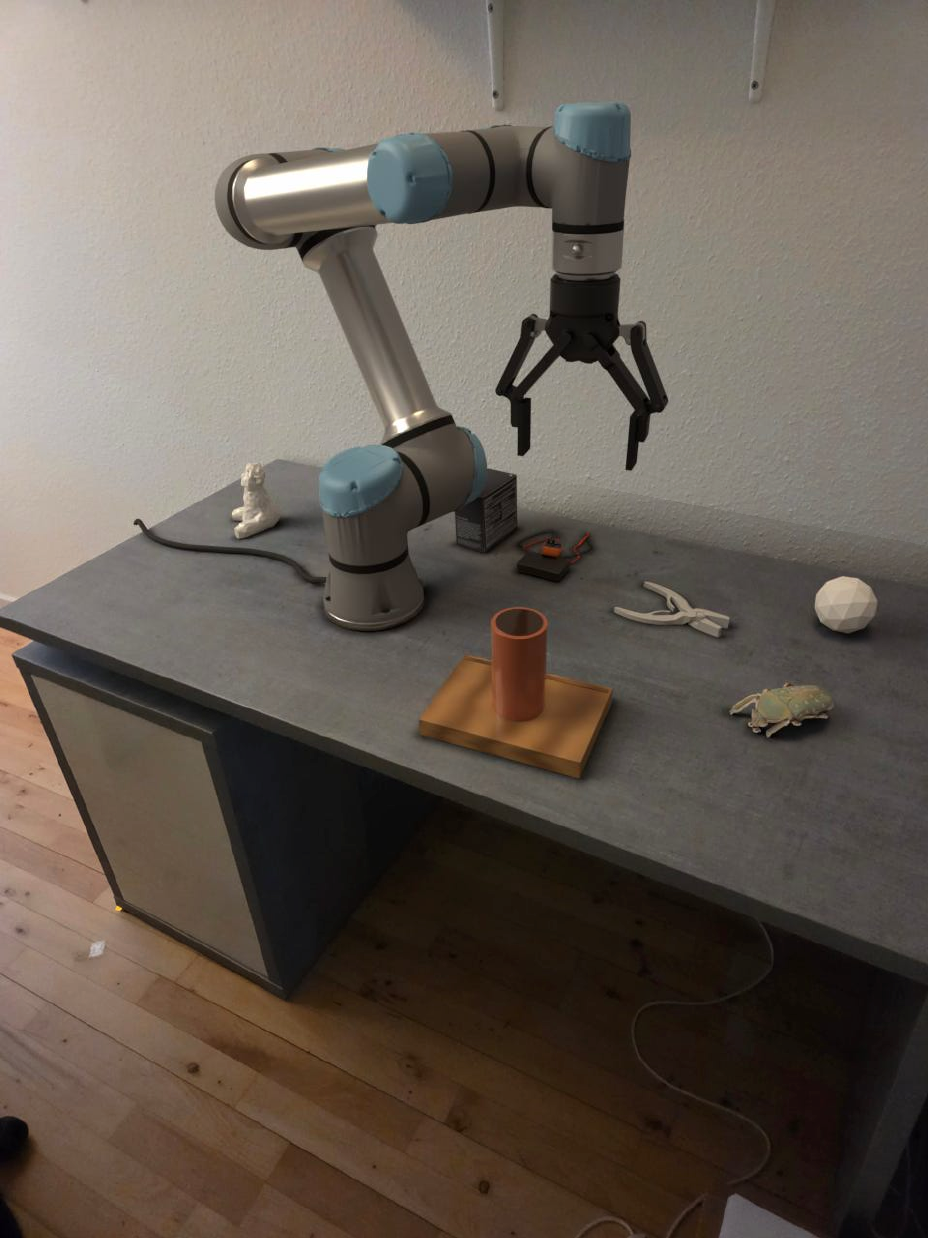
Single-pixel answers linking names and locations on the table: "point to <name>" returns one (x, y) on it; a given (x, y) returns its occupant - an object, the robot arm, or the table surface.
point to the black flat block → (547, 560)
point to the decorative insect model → (785, 706)
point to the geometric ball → (845, 604)
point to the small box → (489, 513)
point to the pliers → (679, 613)
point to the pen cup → (518, 663)
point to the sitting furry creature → (255, 504)
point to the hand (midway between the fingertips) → (576, 459)
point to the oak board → (540, 742)
